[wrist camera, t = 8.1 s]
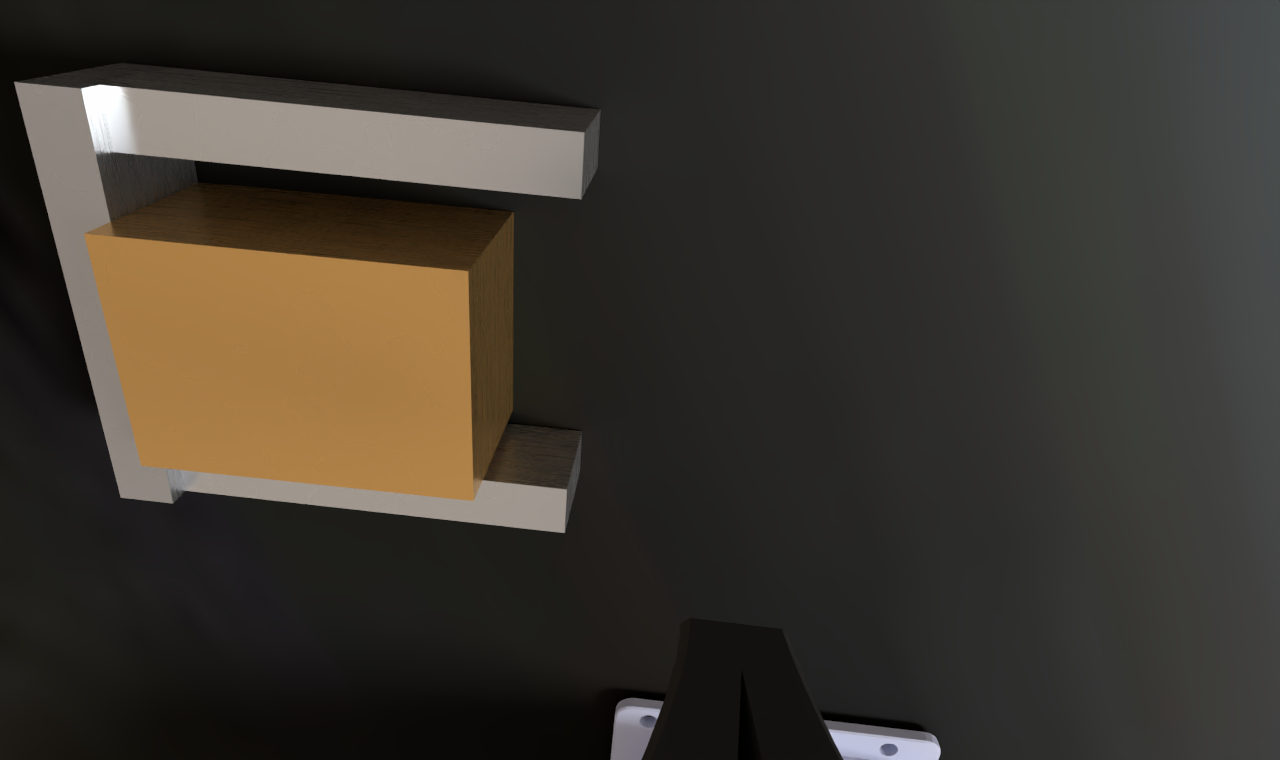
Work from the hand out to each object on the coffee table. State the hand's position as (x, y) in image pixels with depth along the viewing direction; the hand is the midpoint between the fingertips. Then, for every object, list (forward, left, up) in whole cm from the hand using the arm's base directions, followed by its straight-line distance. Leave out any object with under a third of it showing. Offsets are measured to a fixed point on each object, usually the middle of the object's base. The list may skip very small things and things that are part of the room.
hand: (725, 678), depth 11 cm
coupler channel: (+8, -1, -9) cm, 12 cm away
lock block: (+8, -1, -10) cm, 13 cm away
